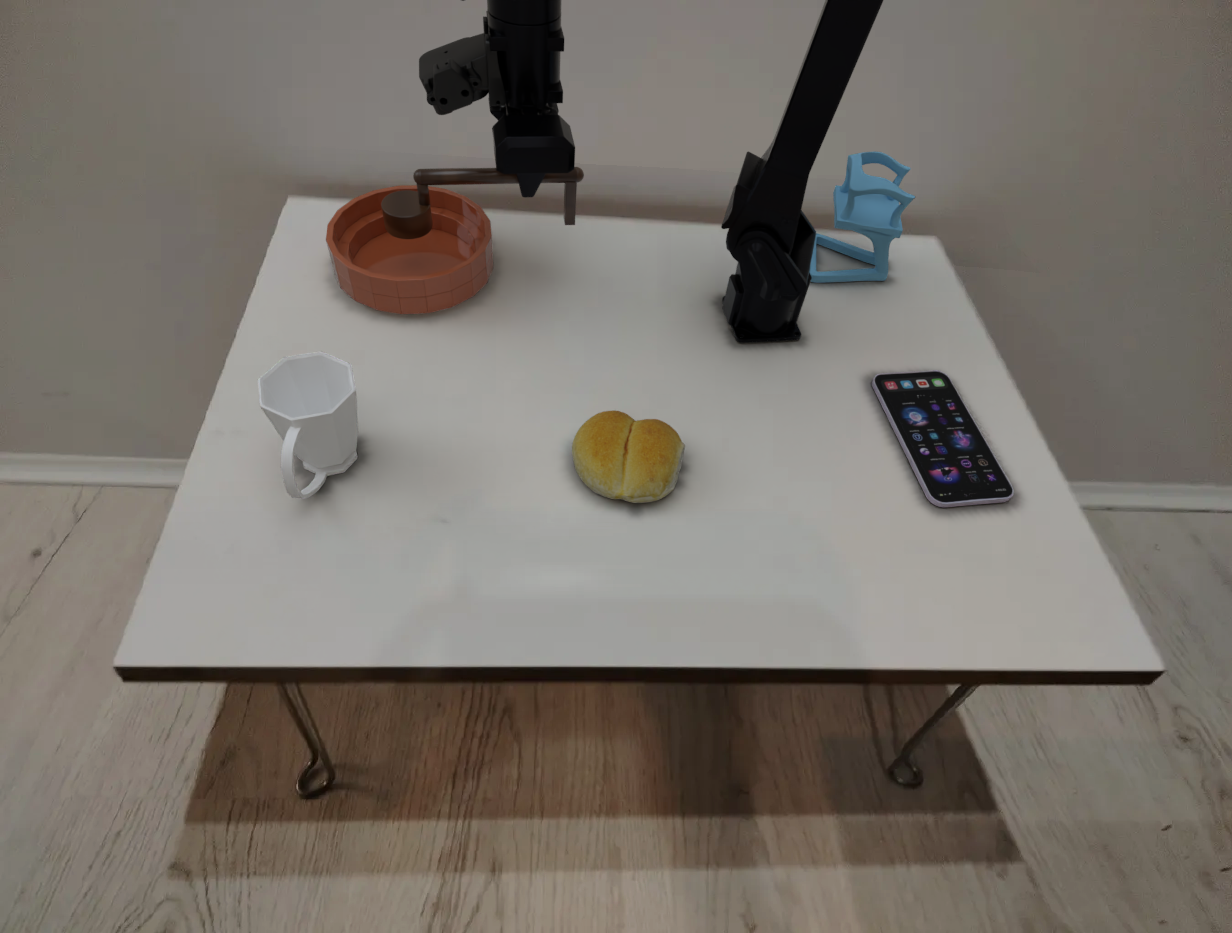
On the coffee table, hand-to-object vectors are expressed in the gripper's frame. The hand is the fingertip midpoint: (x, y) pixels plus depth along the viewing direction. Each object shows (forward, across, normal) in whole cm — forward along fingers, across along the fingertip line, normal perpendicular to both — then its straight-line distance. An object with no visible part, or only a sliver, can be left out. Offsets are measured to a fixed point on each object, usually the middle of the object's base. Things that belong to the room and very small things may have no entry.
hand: (526, 191), depth 72 cm
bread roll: (+9, +27, +6) cm, 29 cm away
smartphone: (+8, +26, +34) cm, 43 cm away
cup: (+9, +25, -18) cm, 32 cm away
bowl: (+8, 0, -11) cm, 14 cm away
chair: (+9, +2, +34) cm, 35 cm away
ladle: (+3, 0, -4) cm, 5 cm away
